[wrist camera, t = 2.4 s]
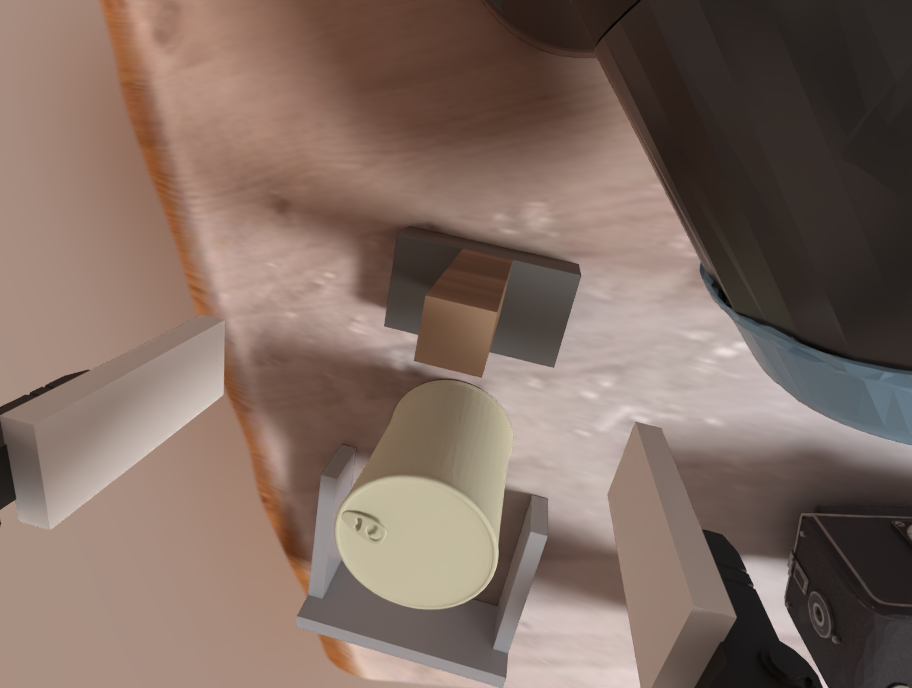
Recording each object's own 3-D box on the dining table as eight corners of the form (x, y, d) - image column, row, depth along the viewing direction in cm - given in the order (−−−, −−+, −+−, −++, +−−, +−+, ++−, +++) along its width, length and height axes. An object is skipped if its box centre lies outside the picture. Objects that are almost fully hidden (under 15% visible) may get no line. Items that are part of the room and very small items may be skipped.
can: (414, 359, 37) (357, 452, 26) (534, 410, 36) (527, 527, 25) (375, 457, 40) (310, 576, 29) (484, 504, 40) (459, 641, 29)
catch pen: (341, 444, 40) (309, 492, 35) (547, 499, 39) (547, 558, 33) (326, 567, 45) (296, 626, 40) (508, 619, 44) (502, 688, 39)
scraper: (410, 225, 33) (332, 273, 21) (578, 264, 32) (595, 335, 20) (396, 312, 36) (320, 398, 24) (553, 349, 35) (555, 459, 23)
